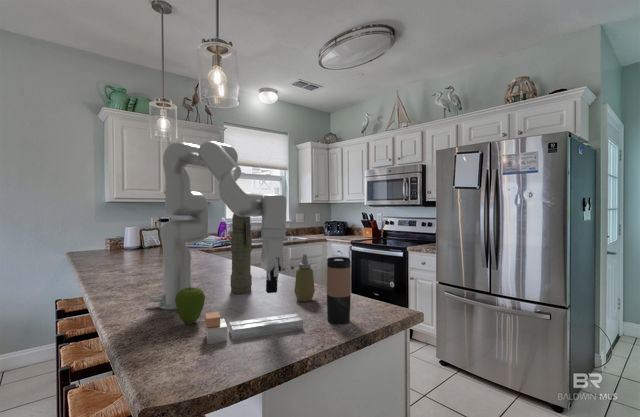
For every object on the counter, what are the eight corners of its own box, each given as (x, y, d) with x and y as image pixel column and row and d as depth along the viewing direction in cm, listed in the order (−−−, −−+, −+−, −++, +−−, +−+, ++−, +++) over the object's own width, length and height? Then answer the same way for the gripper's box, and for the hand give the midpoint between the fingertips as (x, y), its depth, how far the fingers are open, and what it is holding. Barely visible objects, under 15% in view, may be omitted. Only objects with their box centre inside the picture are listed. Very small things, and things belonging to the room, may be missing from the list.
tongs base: (207, 344, 85) (207, 329, 85) (206, 334, 91) (206, 320, 91) (303, 329, 95) (303, 316, 95) (295, 321, 101) (295, 309, 101)
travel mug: (352, 318, 105) (353, 257, 105) (347, 326, 98) (347, 261, 98) (330, 315, 107) (330, 256, 107) (323, 323, 100) (323, 259, 100)
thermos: (241, 296, 130) (242, 210, 130) (224, 291, 138) (224, 210, 138) (258, 291, 137) (258, 210, 137) (240, 287, 145) (240, 210, 145)
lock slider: (206, 327, 85) (206, 318, 85) (205, 321, 90) (205, 313, 90) (220, 325, 87) (220, 317, 87) (218, 320, 91) (218, 311, 91)
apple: (175, 330, 94) (175, 291, 94) (174, 321, 102) (174, 285, 102) (206, 325, 98) (206, 288, 98) (202, 316, 106) (203, 282, 106)
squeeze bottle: (312, 303, 121) (312, 256, 121) (291, 302, 122) (292, 255, 122) (316, 297, 129) (316, 253, 129) (297, 296, 130) (297, 252, 130)
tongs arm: (230, 335, 91) (230, 325, 91) (229, 331, 93) (229, 322, 93) (299, 325, 98) (299, 316, 98) (296, 322, 101) (296, 313, 101)
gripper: (256, 231, 105) (254, 286, 105) (267, 236, 91) (265, 300, 92) (278, 231, 108) (276, 285, 108) (292, 236, 94) (290, 298, 95)
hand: (271, 292), depth 100 cm, fingers closed
